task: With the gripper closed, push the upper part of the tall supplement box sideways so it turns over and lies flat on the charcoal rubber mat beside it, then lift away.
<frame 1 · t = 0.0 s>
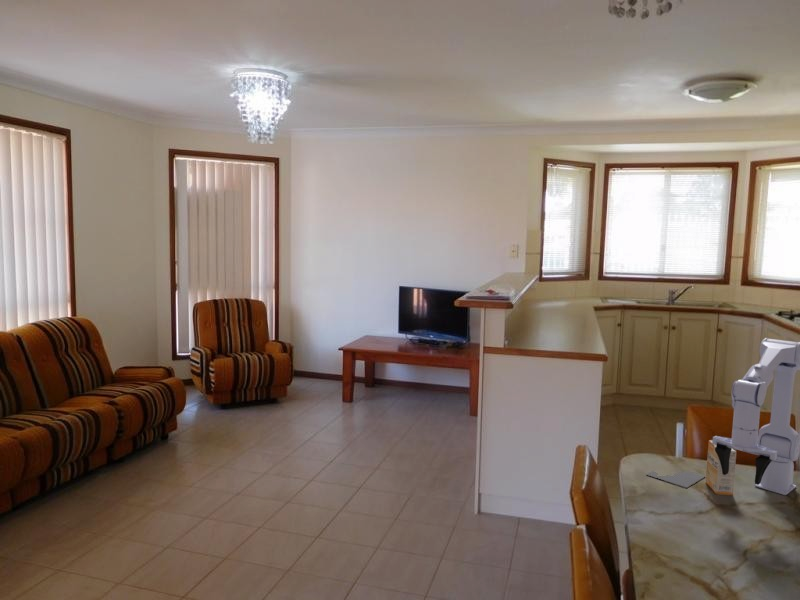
hand: (741, 478, 152), 10 cm above the table, tool pointing down, fingers open, 7 cm apart
rubber mat: (675, 476, 178), on the table
supplement box: (718, 489, 170), on the table
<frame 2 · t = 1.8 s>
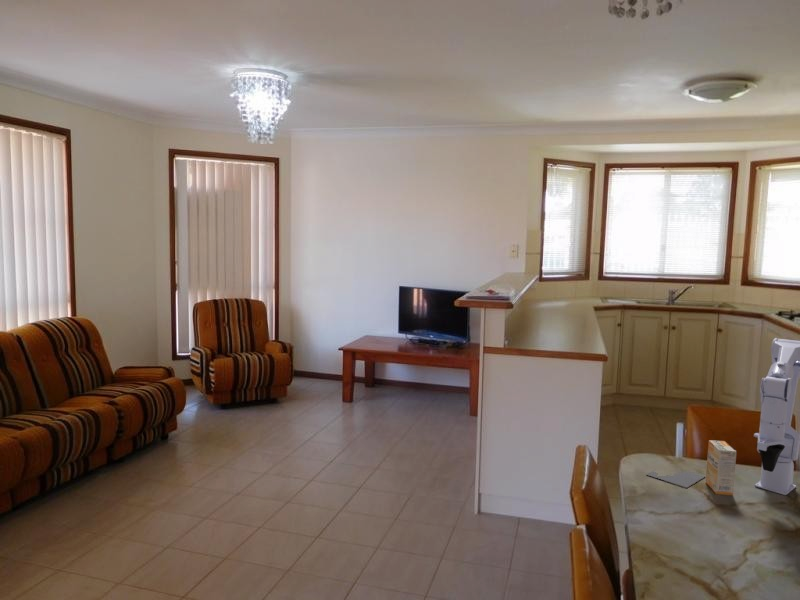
hand: (768, 470, 160), 9 cm above the table, tool pointing down, fingers closed
nothing on the table moved.
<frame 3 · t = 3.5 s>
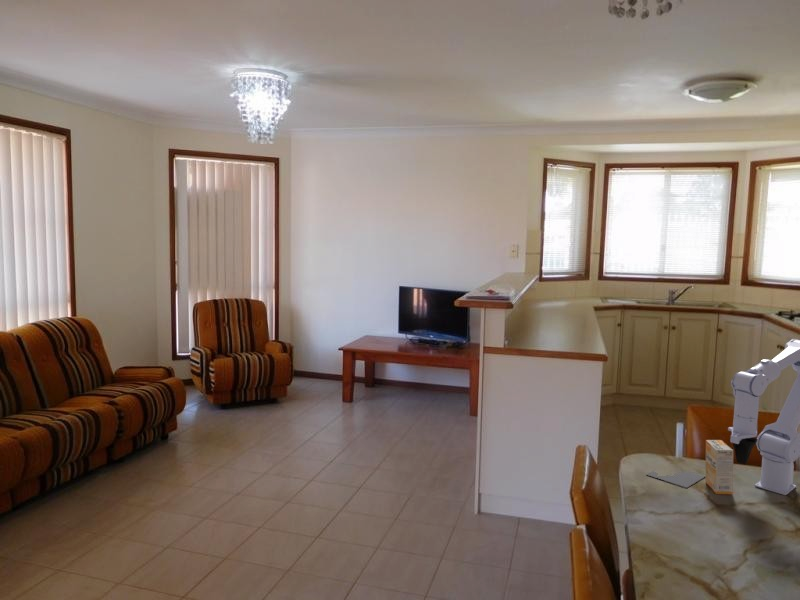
hand: (741, 463, 164), 9 cm above the table, tool pointing down, fingers closed
nothing on the table moved.
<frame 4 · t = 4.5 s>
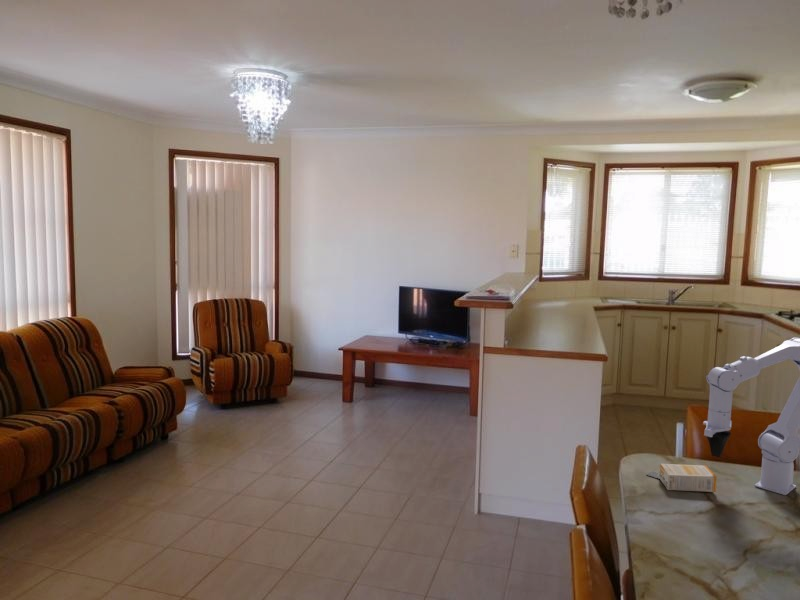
hand: (716, 455, 170), 9 cm above the table, tool pointing down, fingers closed
supplement box: (711, 478, 169), point 3 cm above the table, touching rubber mat
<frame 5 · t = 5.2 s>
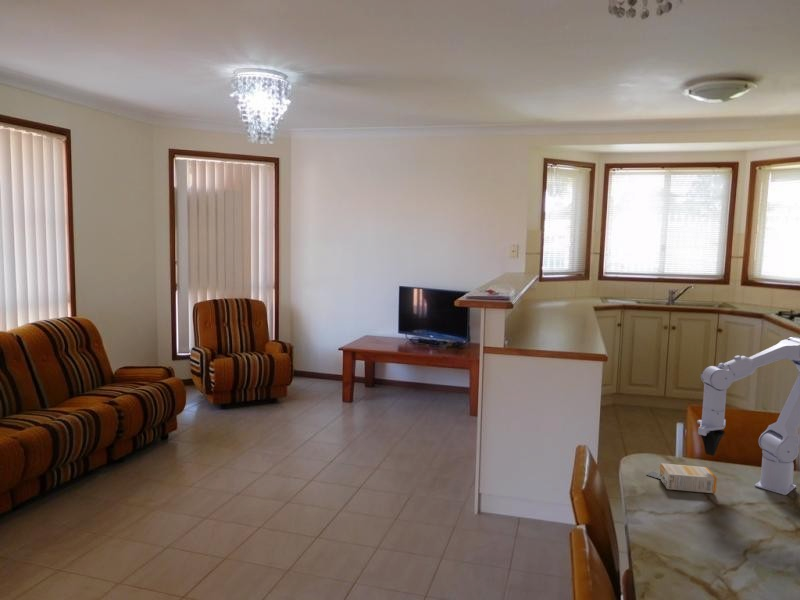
hand: (710, 454, 171), 9 cm above the table, tool pointing down, fingers closed
nothing on the table moved.
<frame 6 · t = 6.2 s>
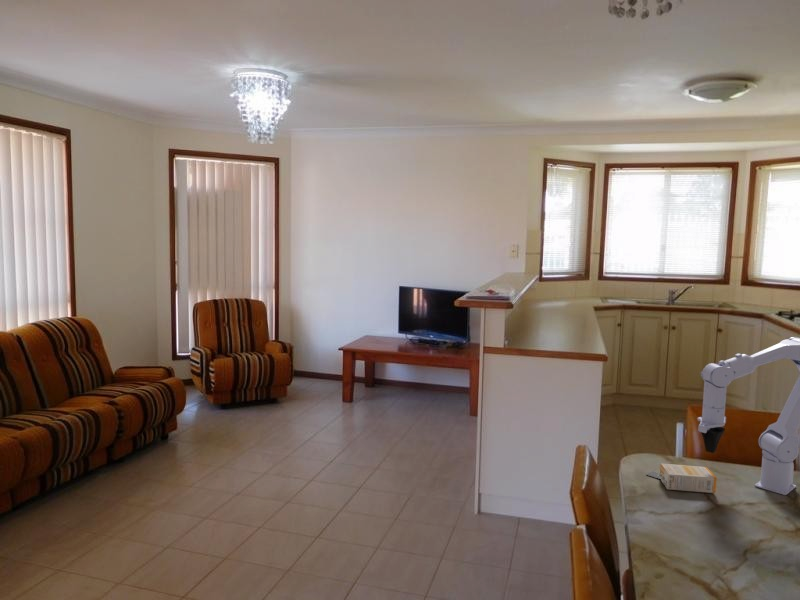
hand: (710, 451, 171), 10 cm above the table, tool pointing down, fingers closed
nothing on the table moved.
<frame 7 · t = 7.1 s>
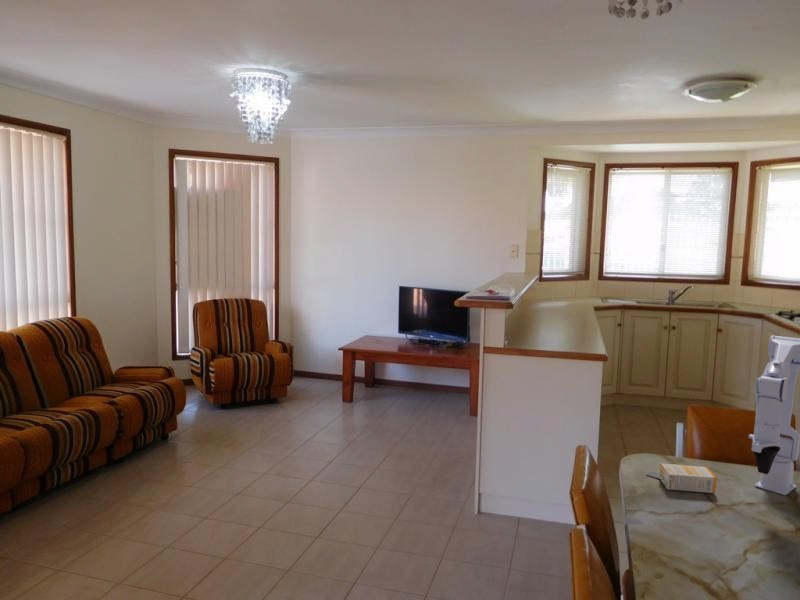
hand: (763, 472, 155), 10 cm above the table, tool pointing down, fingers closed
nothing on the table moved.
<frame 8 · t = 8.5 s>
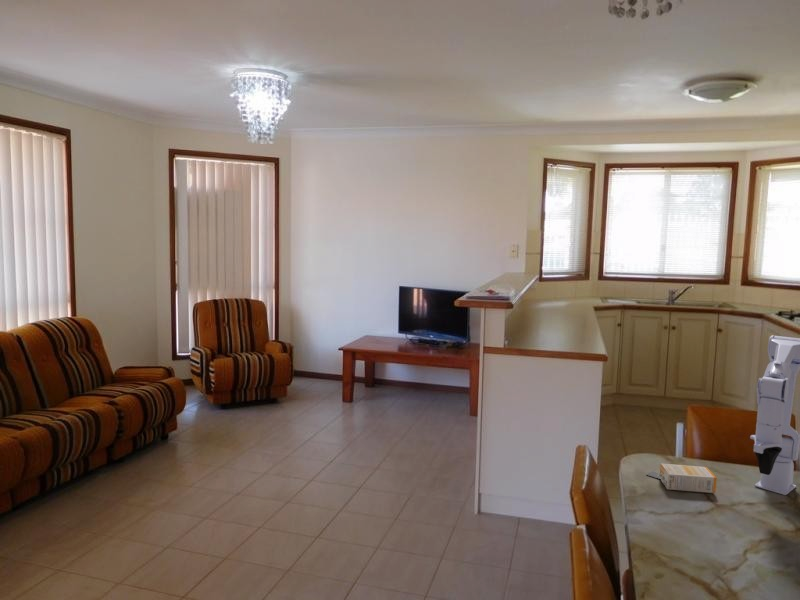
hand: (765, 473, 155), 10 cm above the table, tool pointing down, fingers closed
nothing on the table moved.
at the end: supplement box tilted 90°; supplement box touching rubber mat; supplement box inside the target area (2.8 cm from its centre), point 2.7 cm above the table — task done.
